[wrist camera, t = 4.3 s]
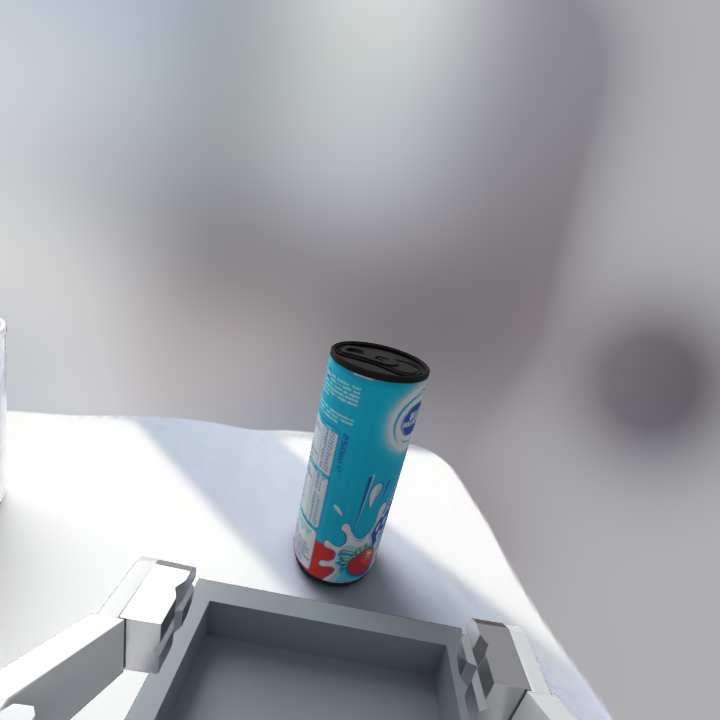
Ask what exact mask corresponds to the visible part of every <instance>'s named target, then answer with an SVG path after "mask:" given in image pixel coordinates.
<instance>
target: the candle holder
mask: <svg viewBox="0 0 720 720" xmlns="http://www.w3.org/2000/svg"><path fill="white" fill-rule="evenodd" d="M6 332H7V325H6V322H5V321H4V320H3V319H2V318H0V502H1V501H2V499H3V497H4V495H5V492H6V487H7V408H6V347H5V340H6V339H5V337H6Z"/></svg>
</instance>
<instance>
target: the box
mask: <svg viewBox="0 0 720 720" xmlns="http://www.w3.org/2000/svg"><path fill="white" fill-rule="evenodd" d="M462 636H463V635H462V631H461V628H457V627H452V626H447V625H441V624H436V623H431V622H426V621H420V620H415V619H410V618H405V617H399V616H394V615H389V614H384V613H378V612H373V611H368V610H363V609H357V608H352V607H347V606H342V605H336V604H331V603H326V602H321V601H315V600H310V599H305V598H300V597H294V596H289V595H284V594H279V593H273V592H268V591H263V590H258V589H252V588H247V587H242V586H237V585H231V584H226V583H221V582H216V581H210V580H205V579H200V578H199V580H198V582H197V584H196V585H195V587H194V595H193V599H192V603H191V606H190V608H189V611H188V614H187V616H186V618H185V620H184V622H183V624H182V627H181V628H179V629H178V630H177V631H175V632H174V633H173V643H172V647H171V649H170V651H169V653H168V655H167V657H166V659H165V661H164V663H163V665H162V667H161V669H160V671H159V673H158V674H154V673H149V674H148V676H147V678H146V680H145V682H144V683H143V685H142V687H141V689H140V691H139V693H138V695H137V697H136V699H135V700H134V702H133V704H132V706H131V708H130V710H129V712H128V714H127V716H126V717H125V719H124V720H470V719H469V714H468V710H467V706H466V701H465V697H464V696H465V693H466V690H467V688H468V687H467V686H466V684H465V683H464V681H463V680H462V679H461V677H460V674H459V669H458V661H457V651H458V644H459V641H460V639H461V637H462Z"/></svg>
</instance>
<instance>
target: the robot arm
mask: <svg viewBox="0 0 720 720" xmlns="http://www.w3.org/2000/svg"><path fill="white" fill-rule="evenodd" d="M195 576H196V568H195V567H191V566H186V565H181V564H177V563H172V562H168V561H163V560H158V559H153V558H148V557H143V556H142V557H141V558H140V559H139V560H137V561H136V562H135V564H134V565H133V566H132V568H131V569H130V570H129V572H128V573H127V574H126V576H125V577H124V578H123V580H122V581H121V582H120V584H119V585H118V586H117V588H116V589H115V590H114V592H113V593H112V594H111V596H110V597H109V598H108V600H107V601H106V602H105V604H104V605H103V606H102V608H101V609H100V610H99V612H98V613H97V614H93V613H91V614H89V615H87V616H86V617H84V618H82V619H81V620H79V621H78V622H76V623H74V624H73V625H71V626H70V627H68V628H66V629H65V630H63V631H62V632H60V633H58V634H57V635H55V636H53V637H52V638H50V639H49V640H47V641H45V642H44V643H42V644H41V645H39V646H37V647H36V648H34V649H33V650H31V651H29V652H28V653H26V654H24V655H23V656H21V657H20V658H18V659H16V660H15V661H13V662H12V663H10V664H8V665H7V666H5V667H4V668H2V669H0V720H70V719H71V718H72V717H73V716H74V715H75V714H77V713H78V712H79V711H80V710H81V709H82V708H83V707H84V706H86V705H87V704H88V703H89V702H90V701H91V700H92V699H93V698H95V697H96V696H97V695H98V694H99V693H100V692H101V691H102V690H104V689H105V688H106V687H107V686H108V685H109V684H110V683H111V682H113V681H114V680H115V679H116V678H117V677H118V676H119V675H120V674H122V673H123V669H125V670H132V671H140V672H147V673H154V674H158V673H159V671H160V669H161V667H162V665H163V663H164V661H165V659H166V657H167V655H168V653H169V651H170V649H171V647H172V643H173V633H174V632H175V631H177V630H178V629H179V628H181V627H182V624H183V622H184V620H185V618H186V616H187V614H188V611H189V608H190V606H191V603H192V599H193V595H194V587H193V585H192V582H193V580H194V578H195ZM466 629H467V634H465V635H464V636H462V637H461V639H460V641H459V644H458V651H457V661H458V669H459V674H460V677H461V679H462V680H463V681H464V683H465V684H466V686H467V687H468V688H467V690H466V693H465V696H464V697H465V701H466V706H467V710H468V714H469V719H470V720H577V719H576V717H575V716H574V715H573V714H572V713H571V712H570V711H569V709H568V708H567V707H566V706H565V705H564V704H563V702H562V701H561V700H560V699H559V698H558V697H557V696H555V695H552V694H551V692H550V690H549V687H548V685H547V683H546V680H545V678H544V675H543V673H542V671H541V668H540V666H539V664H538V661H537V659H536V656H535V654H534V652H533V649H532V647H531V645H530V642H529V640H528V638H527V635H526V633H525V631H524V630H523V629H522V628H521V627H517V626H511V625H505V624H503V623H497V622H491V621H485V620H479V619H473V618H472V619H470V620H469V621H468V623H467V625H466Z"/></svg>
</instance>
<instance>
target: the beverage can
mask: <svg viewBox="0 0 720 720" xmlns="http://www.w3.org/2000/svg"><path fill="white" fill-rule="evenodd" d="M330 355H331V357H330V359H329V362H328V367H327V372H326V377H325V382H324V386H323V391H322V396H321V401H320V406H319V411H318V416H317V421H316V427H315V431H314V436H313V442H312V447H311V452H310V457H309V462H308V468H307V473H306V478H305V483H304V488H303V494H302V499H301V504H300V509H299V514H298V519H297V525H296V530H295V535H294V551H295V555H296V559H297V561H298V563H299V565H300V567H301V568H302V569H303V570H304V572H305V573H306V574H307V575H308V576H310V577H311V578H312V579H314V580H316V581H318V582H320V583H322V584H326V585H330V586H345V585H349V584H352V583H354V582H357V581H358V580H359V579H361V578H362V577H363V576H364V575H365V574H366V573H367V572H368V571H369V569H370V568H371V567H372V565H373V563H374V560H375V558H376V553H377V550H378V547H379V543H380V540H381V536H382V533H383V530H384V526H385V523H386V520H387V516H388V513H389V510H390V506H391V503H392V499H393V496H394V493H395V489H396V486H397V483H398V479H399V476H400V472H401V469H402V466H403V462H404V459H405V456H406V452H407V449H408V445H409V442H410V438H411V435H412V432H413V428H414V425H415V421H416V417H417V414H418V410H419V407H420V404H421V400H422V397H423V393H424V389H425V386H426V379H427V378H428V376H429V372H430V369H429V367H428V366H427V365H426V364H425V363H424V362H423V361H421V360H420V359H418V358H416V357H415V356H412V355H410V354H408V353H406V352H403V351H400V350H397V349H394V348H391V347H387V346H383V345H379V344H374V343H367V342H357V341H345V342H340V343H336V344H334V345H333V346H332V347H331V352H330Z"/></svg>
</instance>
